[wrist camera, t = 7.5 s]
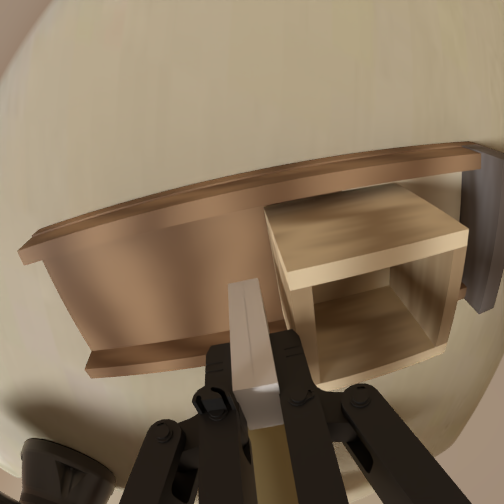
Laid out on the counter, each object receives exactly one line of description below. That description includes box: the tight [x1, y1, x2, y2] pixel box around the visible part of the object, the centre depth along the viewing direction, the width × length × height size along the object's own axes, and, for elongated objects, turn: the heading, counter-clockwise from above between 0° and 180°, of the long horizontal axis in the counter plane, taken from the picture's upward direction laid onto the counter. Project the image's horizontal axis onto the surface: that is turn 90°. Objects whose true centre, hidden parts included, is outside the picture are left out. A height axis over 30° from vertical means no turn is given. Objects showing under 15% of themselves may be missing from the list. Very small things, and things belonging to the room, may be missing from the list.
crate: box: [264, 183, 469, 391], centre depth 16 cm, size 8×7×7 cm
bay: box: [18, 142, 504, 378], centre depth 18 cm, size 30×11×5 cm, turn 101°
